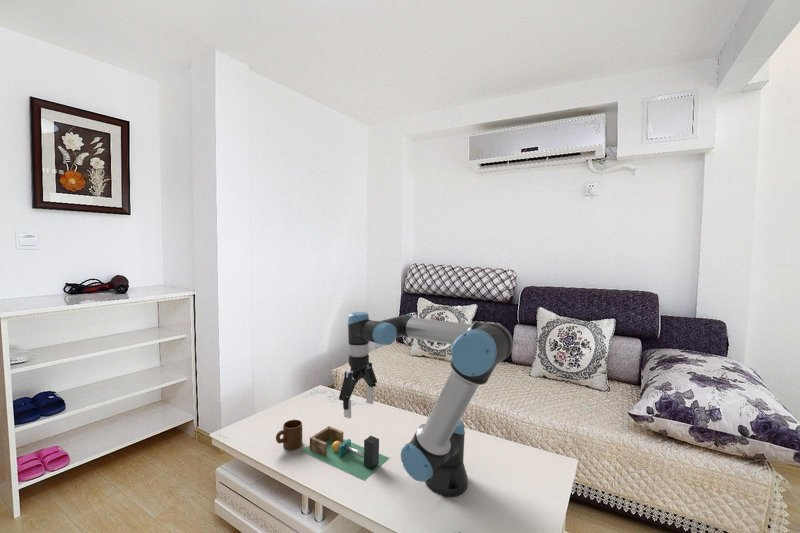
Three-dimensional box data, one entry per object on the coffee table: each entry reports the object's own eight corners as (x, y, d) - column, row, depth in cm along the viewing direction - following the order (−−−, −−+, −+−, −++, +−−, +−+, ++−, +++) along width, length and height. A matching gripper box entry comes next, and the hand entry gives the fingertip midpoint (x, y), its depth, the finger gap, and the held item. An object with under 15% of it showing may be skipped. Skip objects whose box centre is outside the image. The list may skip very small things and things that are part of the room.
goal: (343, 443, 149) (343, 431, 149) (324, 456, 140) (324, 444, 139) (328, 437, 153) (328, 426, 153) (309, 449, 144) (309, 438, 144)
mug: (282, 459, 138) (282, 435, 138) (269, 452, 142) (269, 429, 142) (306, 444, 149) (306, 422, 148) (293, 438, 153) (293, 417, 152)
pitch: (389, 459, 140) (389, 457, 140) (364, 482, 126) (364, 480, 126) (328, 434, 157) (328, 433, 157) (300, 452, 143) (300, 451, 143)
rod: (380, 462, 136) (380, 437, 135) (370, 471, 131) (371, 445, 130) (348, 449, 144) (348, 425, 144) (338, 457, 139) (338, 432, 139)
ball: (344, 450, 144) (344, 440, 144) (337, 455, 141) (337, 445, 141) (336, 447, 146) (336, 437, 146) (329, 451, 143) (329, 442, 143)
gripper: (370, 344, 146) (370, 395, 147) (328, 361, 124) (328, 421, 126) (385, 347, 142) (385, 399, 143) (344, 365, 121) (345, 426, 122)
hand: (359, 410), depth 134 cm, fingers open, 13 cm apart
